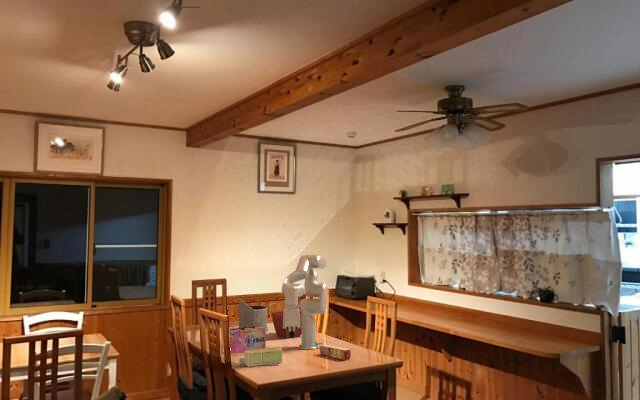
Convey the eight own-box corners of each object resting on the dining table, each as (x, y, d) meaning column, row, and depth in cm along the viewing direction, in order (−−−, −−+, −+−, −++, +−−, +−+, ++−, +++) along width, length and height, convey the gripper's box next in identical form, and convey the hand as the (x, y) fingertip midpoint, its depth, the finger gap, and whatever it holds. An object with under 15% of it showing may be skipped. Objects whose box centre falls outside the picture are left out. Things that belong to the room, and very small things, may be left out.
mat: (276, 357, 311) (276, 356, 311) (278, 365, 293) (278, 364, 293) (240, 358, 308) (240, 358, 308) (239, 367, 290) (239, 366, 290)
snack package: (318, 355, 318) (318, 344, 318) (326, 353, 323) (326, 342, 323) (344, 361, 303) (344, 350, 303) (351, 359, 308) (351, 348, 308)
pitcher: (235, 328, 399) (235, 296, 400) (275, 326, 409) (275, 294, 410) (240, 334, 377) (240, 300, 378) (282, 332, 387) (282, 298, 388)
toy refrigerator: (283, 363, 298) (248, 367, 289) (278, 360, 305) (244, 363, 295) (283, 349, 298) (248, 352, 289) (278, 346, 305) (244, 349, 296)
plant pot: (307, 337, 369) (307, 313, 370) (283, 340, 358) (284, 316, 359) (293, 332, 385) (293, 309, 385) (270, 335, 374) (270, 312, 375)
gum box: (261, 345, 343) (261, 325, 344) (267, 347, 336) (267, 326, 337) (228, 350, 329) (229, 329, 330) (234, 353, 323) (234, 331, 323)
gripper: (303, 305, 310) (303, 336, 310) (278, 306, 308) (278, 337, 308) (304, 307, 303) (305, 339, 302) (279, 308, 301) (279, 340, 300)
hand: (291, 337), depth 305 cm, fingers closed
